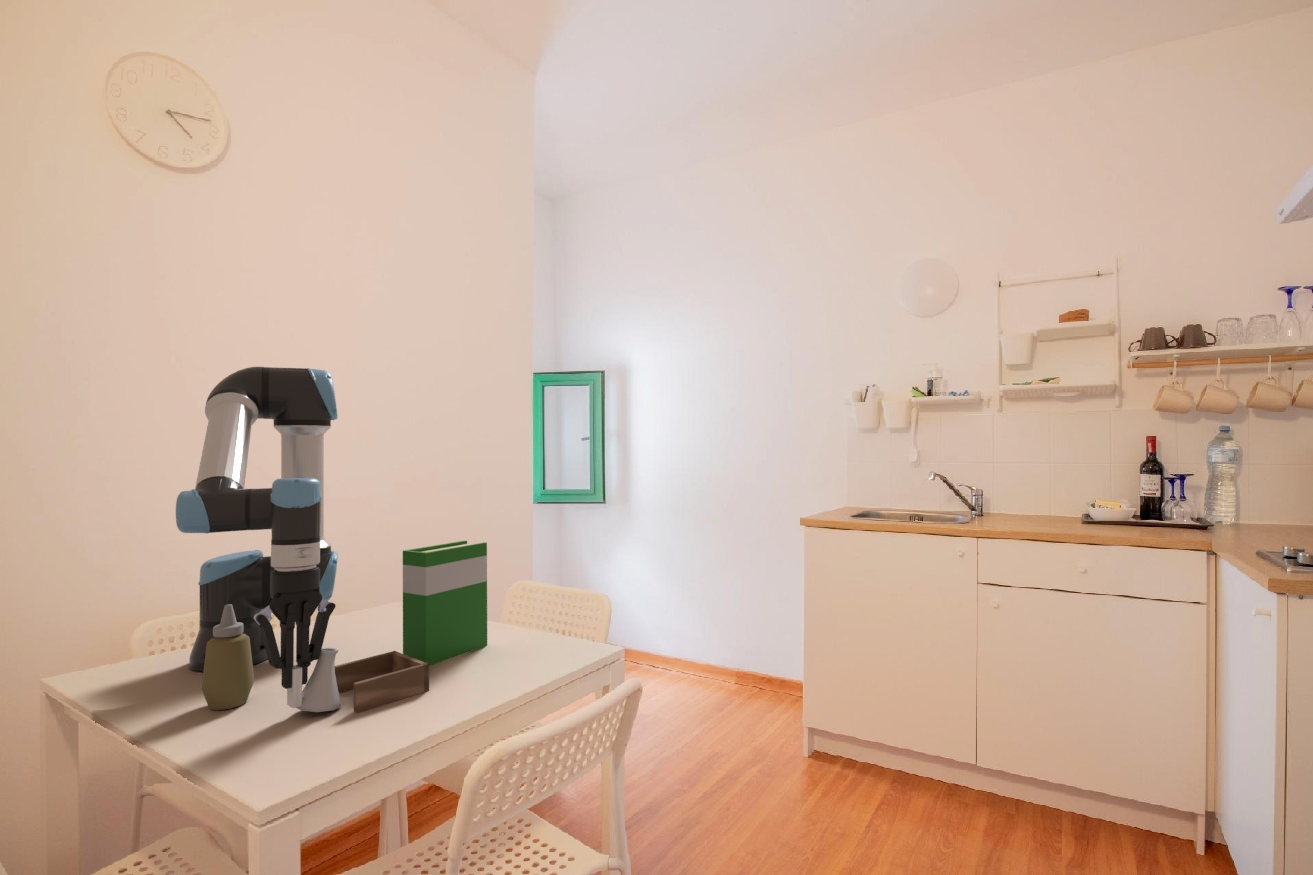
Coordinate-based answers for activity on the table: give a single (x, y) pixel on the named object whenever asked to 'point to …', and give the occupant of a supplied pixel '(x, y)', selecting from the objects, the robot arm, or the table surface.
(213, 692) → the squeeze bottle
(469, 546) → the hardback book
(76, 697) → the table surface
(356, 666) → the box
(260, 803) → the table surface
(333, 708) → the flask
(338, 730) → the table surface
